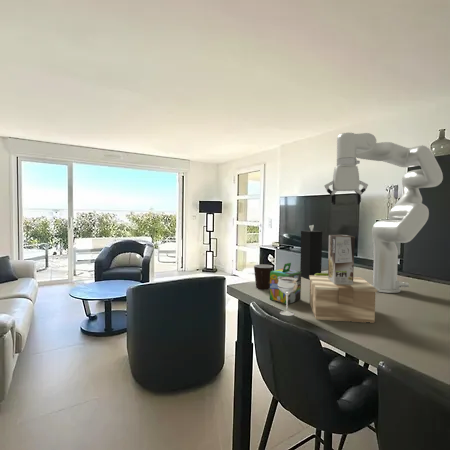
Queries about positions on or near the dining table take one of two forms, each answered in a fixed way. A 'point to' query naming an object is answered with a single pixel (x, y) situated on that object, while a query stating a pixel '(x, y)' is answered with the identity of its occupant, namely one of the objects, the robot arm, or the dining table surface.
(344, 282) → the coffee box
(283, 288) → the wineglass
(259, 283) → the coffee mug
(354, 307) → the box
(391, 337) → the dining table surface
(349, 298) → the lid
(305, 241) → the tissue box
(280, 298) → the chalk box
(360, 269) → the dining table surface
